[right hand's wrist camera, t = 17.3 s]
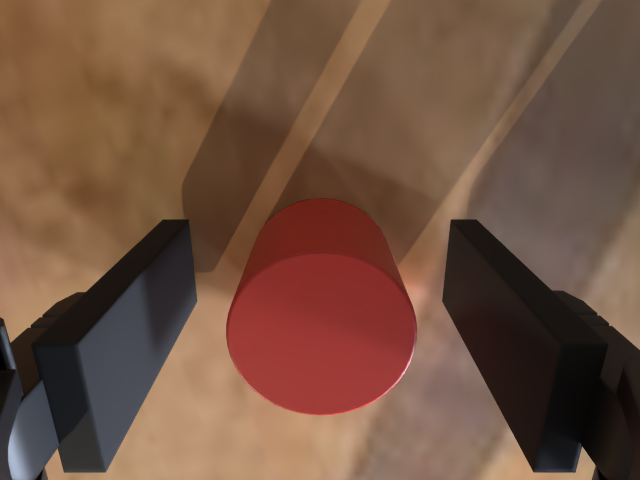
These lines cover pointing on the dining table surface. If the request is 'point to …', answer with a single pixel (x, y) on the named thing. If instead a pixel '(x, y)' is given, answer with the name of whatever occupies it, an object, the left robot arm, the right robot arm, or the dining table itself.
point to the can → (321, 311)
